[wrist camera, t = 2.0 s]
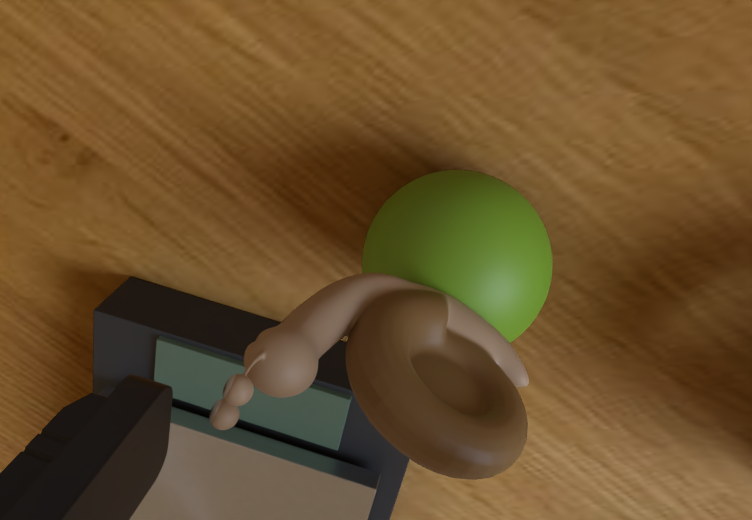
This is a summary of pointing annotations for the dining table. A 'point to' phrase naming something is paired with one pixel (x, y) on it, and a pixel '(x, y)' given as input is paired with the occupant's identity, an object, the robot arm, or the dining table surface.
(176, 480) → the scale platter
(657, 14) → the dining table surface
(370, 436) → the scale
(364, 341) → the snail figurine
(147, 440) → the robot arm
